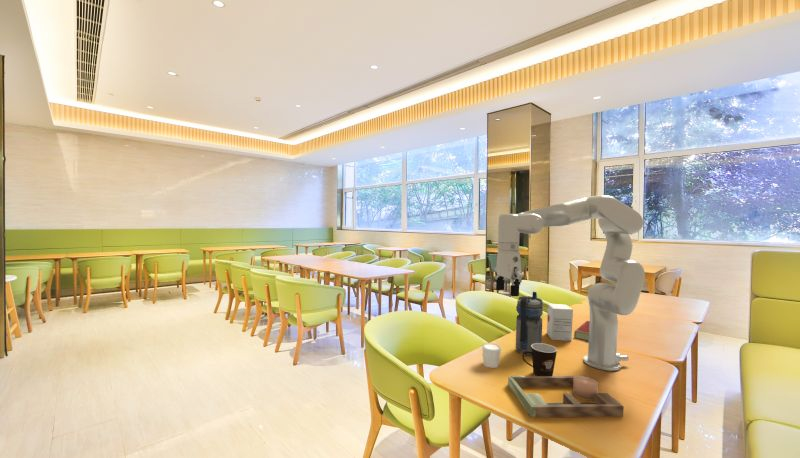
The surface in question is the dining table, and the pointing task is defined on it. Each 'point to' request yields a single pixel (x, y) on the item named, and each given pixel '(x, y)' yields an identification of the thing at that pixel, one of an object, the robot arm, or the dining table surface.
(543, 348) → the coffee mug
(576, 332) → the hardcover book
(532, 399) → the trap lane
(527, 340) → the beverage bottle
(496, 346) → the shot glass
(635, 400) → the dining table surface
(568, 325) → the supplement box
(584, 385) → the pink rounded dome
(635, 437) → the dining table surface
